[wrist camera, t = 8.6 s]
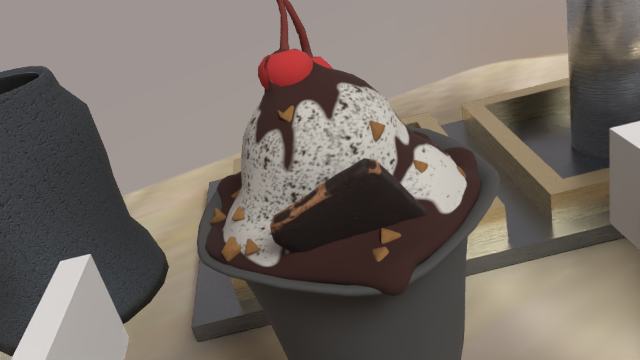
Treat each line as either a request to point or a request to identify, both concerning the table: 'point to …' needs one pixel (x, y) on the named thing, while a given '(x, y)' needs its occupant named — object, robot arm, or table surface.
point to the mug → (62, 205)
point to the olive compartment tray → (515, 160)
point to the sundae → (347, 217)
